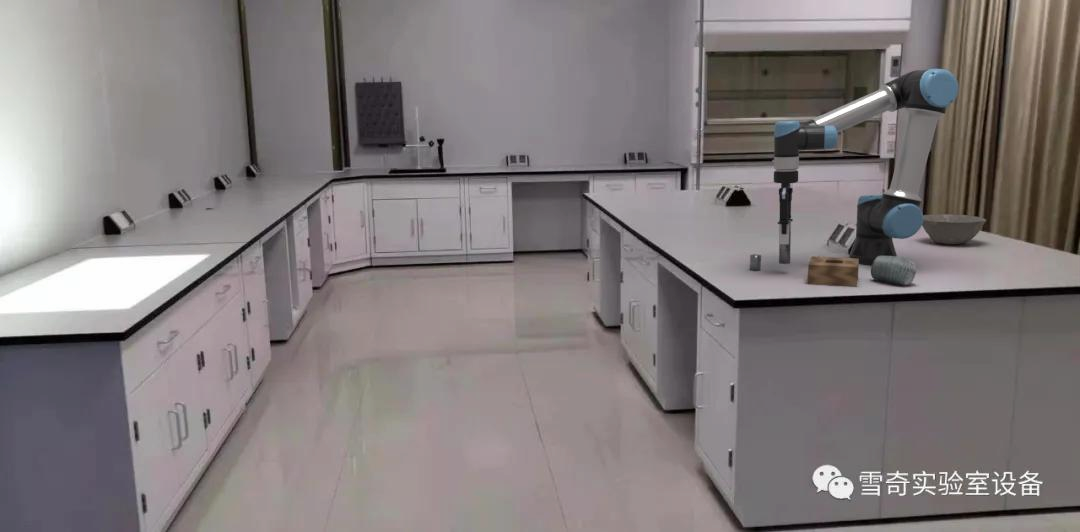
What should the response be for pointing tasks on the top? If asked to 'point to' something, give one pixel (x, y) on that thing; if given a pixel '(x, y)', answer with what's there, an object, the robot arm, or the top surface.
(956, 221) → the ceramic bowl
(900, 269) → the spool
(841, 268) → the socket block
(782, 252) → the long pin
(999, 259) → the top surface
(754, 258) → the short pin
